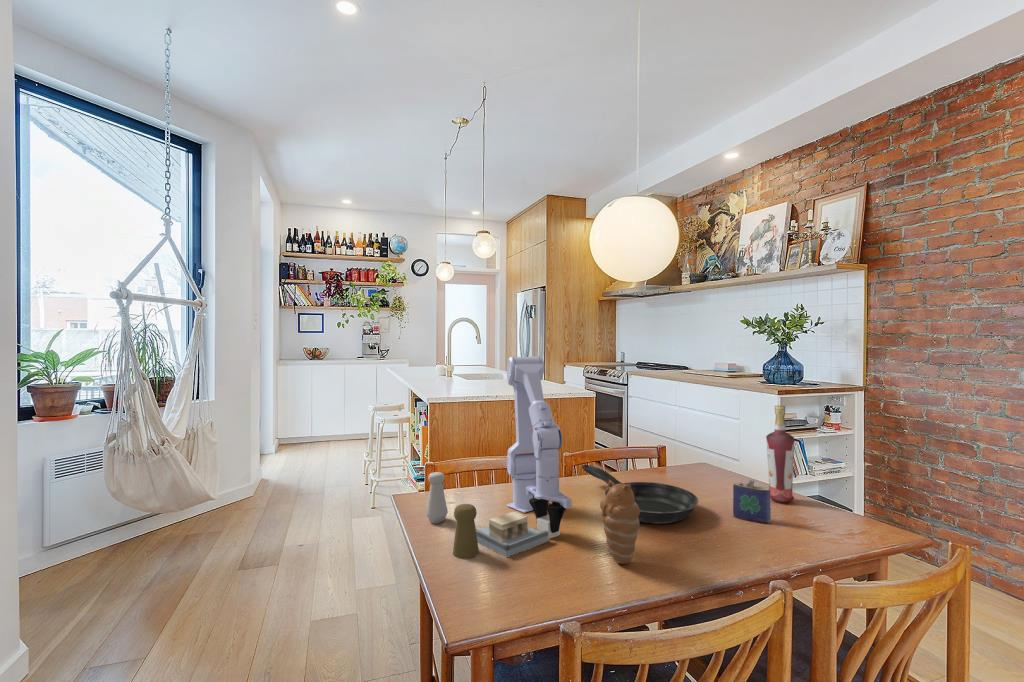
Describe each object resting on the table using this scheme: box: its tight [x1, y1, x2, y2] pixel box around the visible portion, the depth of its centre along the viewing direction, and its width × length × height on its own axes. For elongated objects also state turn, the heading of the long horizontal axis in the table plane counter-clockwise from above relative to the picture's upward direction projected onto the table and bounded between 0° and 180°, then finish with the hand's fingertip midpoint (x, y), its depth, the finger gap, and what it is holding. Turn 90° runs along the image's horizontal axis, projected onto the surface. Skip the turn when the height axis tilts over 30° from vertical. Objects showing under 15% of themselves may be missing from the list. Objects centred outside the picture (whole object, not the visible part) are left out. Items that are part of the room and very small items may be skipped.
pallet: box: [488, 510, 529, 542], centre depth 122 cm, size 8×5×4 cm, turn 130°
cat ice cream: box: [599, 480, 641, 565], centre depth 108 cm, size 9×8×18 cm
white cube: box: [536, 514, 561, 540], centre depth 125 cm, size 4×4×4 cm
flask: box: [732, 479, 772, 525], centre depth 132 cm, size 9×3×11 cm, turn 50°
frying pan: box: [581, 464, 699, 525], centre depth 148 cm, size 44×25×7 cm, turn 26°
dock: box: [476, 526, 549, 558], centre depth 122 cm, size 13×14×2 cm
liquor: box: [765, 405, 795, 504], centre depth 147 cm, size 7×7×28 cm
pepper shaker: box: [452, 503, 480, 559], centre depth 115 cm, size 6×6×11 cm
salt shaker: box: [425, 471, 449, 524], centre depth 135 cm, size 6×6×13 cm
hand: (548, 528), depth 125 cm, fingers closed on white cube, 4 cm apart
